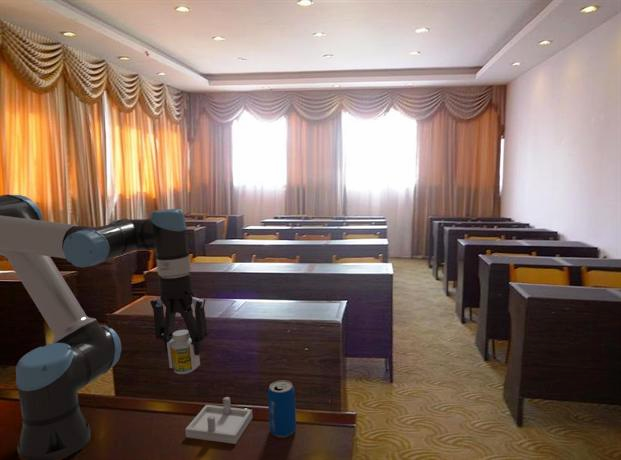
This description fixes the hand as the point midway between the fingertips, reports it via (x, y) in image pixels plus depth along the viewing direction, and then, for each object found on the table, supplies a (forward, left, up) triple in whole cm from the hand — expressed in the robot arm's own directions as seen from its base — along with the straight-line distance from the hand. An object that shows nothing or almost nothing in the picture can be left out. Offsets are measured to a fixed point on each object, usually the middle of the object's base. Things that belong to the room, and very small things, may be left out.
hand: (184, 365), depth 111 cm
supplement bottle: (0, 0, -1) cm, 1 cm away
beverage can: (+24, +3, -17) cm, 29 cm away
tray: (+8, +2, -17) cm, 18 cm away
